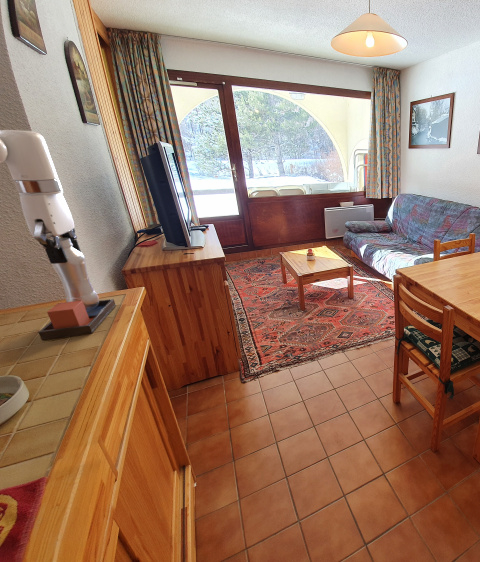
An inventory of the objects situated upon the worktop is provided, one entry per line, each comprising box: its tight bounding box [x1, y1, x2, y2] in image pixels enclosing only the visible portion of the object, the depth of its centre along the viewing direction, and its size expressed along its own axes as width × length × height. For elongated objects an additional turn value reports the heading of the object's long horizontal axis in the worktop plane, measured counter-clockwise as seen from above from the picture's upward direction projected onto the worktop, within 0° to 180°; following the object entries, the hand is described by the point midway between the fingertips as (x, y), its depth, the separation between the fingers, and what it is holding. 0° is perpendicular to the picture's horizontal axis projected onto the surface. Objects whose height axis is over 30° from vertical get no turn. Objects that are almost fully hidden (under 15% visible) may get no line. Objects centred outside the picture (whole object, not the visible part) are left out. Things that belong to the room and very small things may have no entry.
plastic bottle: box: [50, 237, 100, 311], centre depth 83 cm, size 6×7×20 cm
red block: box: [46, 301, 90, 329], centre depth 79 cm, size 5×5×6 cm
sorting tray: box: [37, 298, 117, 342], centre depth 83 cm, size 10×16×2 cm, turn 20°
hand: (66, 258), depth 81 cm, fingers closed on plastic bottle, 6 cm apart
